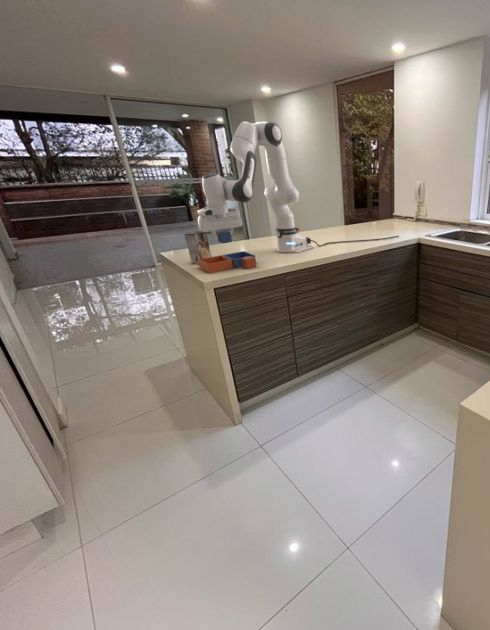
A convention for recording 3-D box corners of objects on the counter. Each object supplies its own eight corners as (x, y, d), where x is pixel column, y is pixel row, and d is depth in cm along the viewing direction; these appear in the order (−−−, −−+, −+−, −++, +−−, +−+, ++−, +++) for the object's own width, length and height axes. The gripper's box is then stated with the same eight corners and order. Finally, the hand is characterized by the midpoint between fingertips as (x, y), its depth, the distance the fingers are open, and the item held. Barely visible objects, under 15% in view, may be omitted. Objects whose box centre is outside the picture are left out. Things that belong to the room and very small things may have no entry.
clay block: (251, 265, 183) (250, 256, 181) (256, 266, 180) (254, 257, 178) (243, 267, 180) (241, 257, 178) (247, 268, 177) (245, 259, 175)
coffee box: (202, 259, 195) (196, 230, 188) (212, 259, 193) (206, 231, 187) (191, 263, 186) (184, 234, 180) (201, 264, 185) (194, 234, 179)
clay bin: (222, 263, 186) (220, 255, 184) (233, 268, 178) (231, 259, 176) (199, 268, 178) (197, 259, 176) (209, 273, 170) (207, 264, 168)
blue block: (227, 240, 173) (225, 230, 171) (232, 241, 170) (230, 231, 168) (217, 241, 170) (215, 231, 168) (222, 243, 167) (220, 233, 164)
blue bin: (245, 259, 195) (243, 251, 193) (256, 263, 187) (255, 255, 185) (224, 263, 187) (222, 255, 185) (234, 267, 179) (233, 259, 177)
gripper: (236, 207, 172) (241, 234, 178) (193, 211, 158) (200, 241, 164) (241, 208, 168) (247, 235, 174) (198, 212, 155) (206, 242, 160)
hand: (224, 238), depth 169 cm, fingers closed on blue block, 5 cm apart
